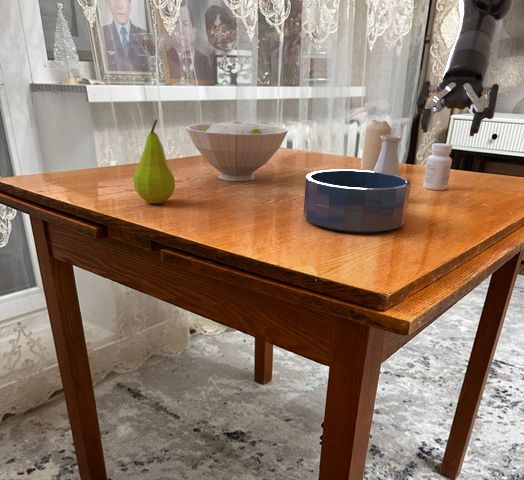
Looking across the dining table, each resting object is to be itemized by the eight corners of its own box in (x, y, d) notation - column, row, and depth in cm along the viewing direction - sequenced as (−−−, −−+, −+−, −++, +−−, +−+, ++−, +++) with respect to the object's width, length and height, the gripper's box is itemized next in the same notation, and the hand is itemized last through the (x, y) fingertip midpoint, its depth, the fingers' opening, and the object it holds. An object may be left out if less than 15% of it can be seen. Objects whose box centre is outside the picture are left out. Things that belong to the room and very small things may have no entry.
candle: (391, 170, 118) (397, 120, 113) (377, 173, 114) (383, 122, 109) (369, 167, 121) (375, 118, 116) (355, 169, 117) (360, 119, 113)
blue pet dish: (415, 219, 80) (422, 177, 77) (386, 242, 69) (393, 194, 66) (326, 205, 86) (329, 166, 83) (286, 225, 75) (289, 180, 72)
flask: (369, 204, 87) (377, 138, 83) (355, 195, 94) (362, 133, 89) (411, 204, 88) (421, 139, 84) (395, 195, 95) (403, 134, 90)
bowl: (253, 192, 93) (255, 130, 89) (165, 178, 102) (162, 121, 97) (302, 176, 108) (306, 122, 104) (222, 165, 117) (222, 115, 112)
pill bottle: (445, 186, 103) (453, 143, 99) (448, 191, 99) (456, 146, 96) (421, 185, 104) (428, 142, 100) (423, 189, 100) (431, 145, 96)
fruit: (126, 202, 84) (119, 118, 78) (158, 196, 88) (153, 116, 83) (153, 209, 80) (147, 122, 75) (184, 203, 84) (181, 120, 79)
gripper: (430, 46, 104) (409, 114, 100) (509, 47, 99) (490, 119, 95) (430, 77, 111) (410, 142, 107) (504, 79, 106) (486, 148, 102)
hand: (448, 131), depth 101 cm, fingers open, 8 cm apart
